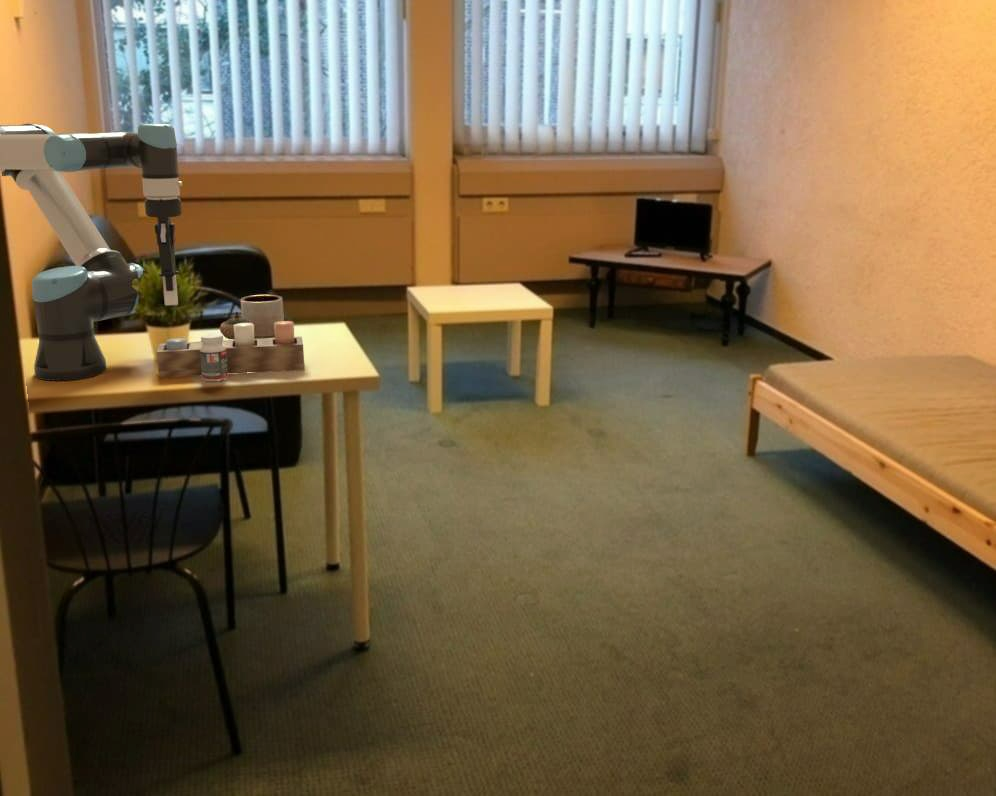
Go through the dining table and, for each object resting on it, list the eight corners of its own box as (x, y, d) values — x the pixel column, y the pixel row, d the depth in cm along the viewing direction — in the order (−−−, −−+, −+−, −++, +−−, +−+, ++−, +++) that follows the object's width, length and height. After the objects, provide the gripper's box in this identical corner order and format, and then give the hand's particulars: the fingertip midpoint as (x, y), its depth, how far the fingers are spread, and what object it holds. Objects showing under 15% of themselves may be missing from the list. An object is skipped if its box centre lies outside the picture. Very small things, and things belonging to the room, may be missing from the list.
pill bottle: (228, 381, 223) (225, 337, 220) (202, 383, 221) (198, 339, 218) (228, 374, 228) (224, 331, 225) (201, 376, 227) (198, 333, 224)
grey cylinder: (167, 367, 227) (165, 343, 225) (169, 362, 231) (166, 338, 229) (187, 366, 228) (185, 342, 226) (189, 361, 232) (186, 337, 230)
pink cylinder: (275, 349, 231) (274, 325, 230) (275, 344, 235) (273, 321, 234) (295, 348, 232) (293, 324, 230) (294, 343, 236) (293, 320, 235)
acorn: (215, 351, 249) (212, 311, 246) (244, 345, 255) (241, 306, 252) (234, 356, 243) (230, 316, 241) (263, 350, 249) (260, 311, 246)
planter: (250, 328, 273) (248, 293, 270) (290, 329, 272) (287, 294, 269) (236, 338, 262) (234, 301, 260) (277, 339, 261) (275, 302, 259)
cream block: (235, 351, 229) (233, 327, 228) (235, 346, 233) (233, 323, 232) (255, 350, 230) (253, 326, 229) (255, 345, 234) (253, 322, 233)
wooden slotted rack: (159, 377, 225) (156, 351, 224) (162, 368, 233) (159, 343, 231) (304, 369, 232) (303, 344, 230) (303, 361, 240) (301, 336, 238)
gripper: (178, 200, 213) (187, 309, 220) (182, 194, 226) (190, 298, 232) (141, 201, 212) (151, 311, 219) (147, 194, 224) (156, 299, 231)
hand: (171, 304), depth 226 cm, fingers closed
